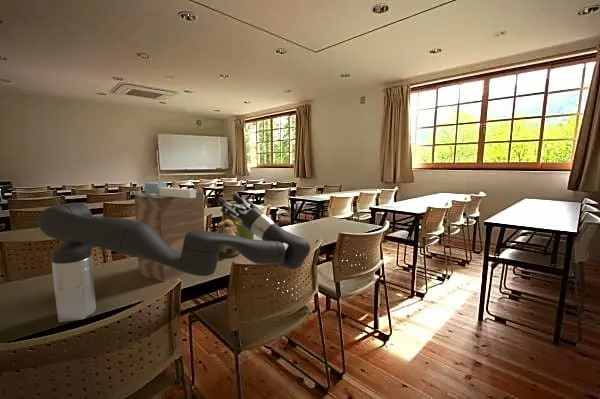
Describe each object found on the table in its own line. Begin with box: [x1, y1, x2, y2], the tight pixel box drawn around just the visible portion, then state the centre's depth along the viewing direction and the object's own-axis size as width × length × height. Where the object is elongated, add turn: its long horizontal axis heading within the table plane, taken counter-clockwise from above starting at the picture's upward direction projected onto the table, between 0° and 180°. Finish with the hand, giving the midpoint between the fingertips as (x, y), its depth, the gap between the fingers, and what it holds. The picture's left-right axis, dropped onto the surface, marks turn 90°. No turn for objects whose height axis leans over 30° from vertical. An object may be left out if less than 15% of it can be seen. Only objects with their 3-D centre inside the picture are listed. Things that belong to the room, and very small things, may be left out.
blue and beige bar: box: [144, 182, 197, 198], centre depth 113 cm, size 23×4×4 cm, turn 64°
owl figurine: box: [215, 219, 241, 259], centre depth 146 cm, size 18×12×17 cm, turn 39°
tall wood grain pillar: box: [134, 189, 205, 282], centre depth 122 cm, size 14×22×33 cm, turn 155°
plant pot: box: [235, 220, 255, 239], centre depth 166 cm, size 12×12×11 cm
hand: (226, 197), depth 105 cm, fingers open, 8 cm apart
